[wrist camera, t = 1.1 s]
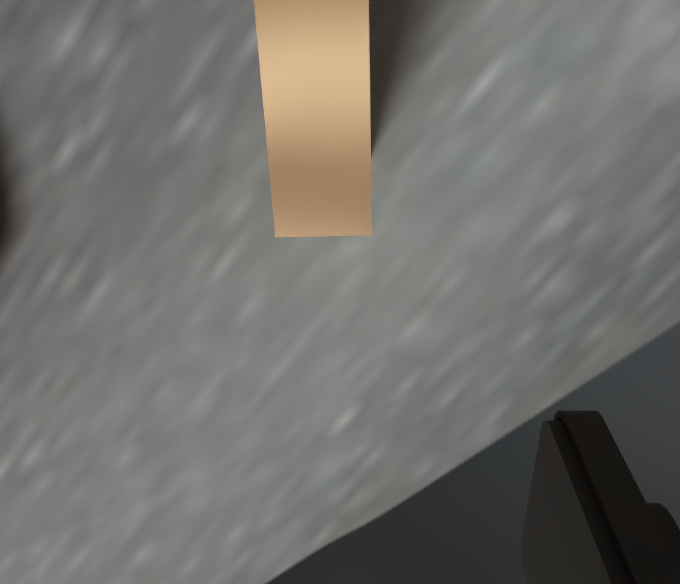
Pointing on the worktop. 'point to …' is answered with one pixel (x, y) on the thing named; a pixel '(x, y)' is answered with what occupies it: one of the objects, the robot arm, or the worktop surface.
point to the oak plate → (317, 114)
